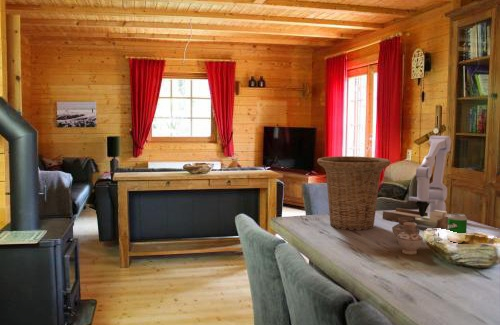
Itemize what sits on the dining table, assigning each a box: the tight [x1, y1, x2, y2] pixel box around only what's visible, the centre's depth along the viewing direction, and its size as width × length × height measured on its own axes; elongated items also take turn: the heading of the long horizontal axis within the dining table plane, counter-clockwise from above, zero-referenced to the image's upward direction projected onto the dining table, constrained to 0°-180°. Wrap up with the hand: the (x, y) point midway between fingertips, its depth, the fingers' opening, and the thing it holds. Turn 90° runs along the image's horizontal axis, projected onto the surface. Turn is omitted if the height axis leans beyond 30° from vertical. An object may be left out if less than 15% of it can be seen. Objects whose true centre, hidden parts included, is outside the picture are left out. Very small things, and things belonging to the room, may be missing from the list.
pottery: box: [391, 217, 424, 255], centre depth 197 cm, size 11×25×12 cm, turn 168°
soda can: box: [447, 212, 468, 234], centre depth 206 cm, size 8×8×12 cm
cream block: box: [430, 210, 448, 222], centre depth 237 cm, size 6×6×4 cm
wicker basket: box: [316, 155, 391, 231], centre depth 236 cm, size 35×35×33 cm
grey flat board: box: [413, 222, 437, 231], centre depth 240 cm, size 29×12×2 cm, turn 133°
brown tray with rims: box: [382, 207, 448, 229], centre depth 246 cm, size 16×32×4 cm, turn 43°
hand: (422, 216), depth 244 cm, fingers closed
